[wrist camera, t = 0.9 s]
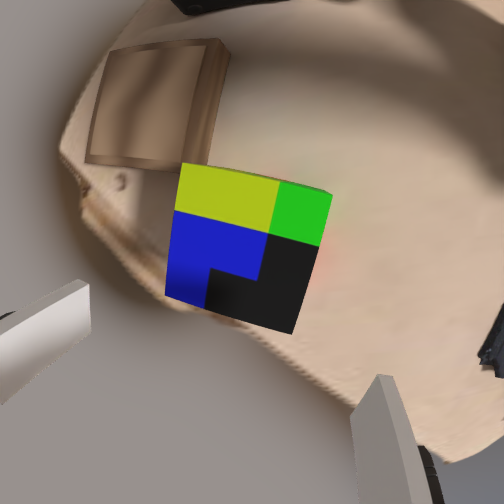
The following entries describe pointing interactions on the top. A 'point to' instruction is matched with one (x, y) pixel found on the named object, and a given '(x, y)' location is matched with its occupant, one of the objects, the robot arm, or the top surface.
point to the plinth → (158, 105)
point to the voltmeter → (205, 5)
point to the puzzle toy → (244, 244)
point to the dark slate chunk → (495, 347)
